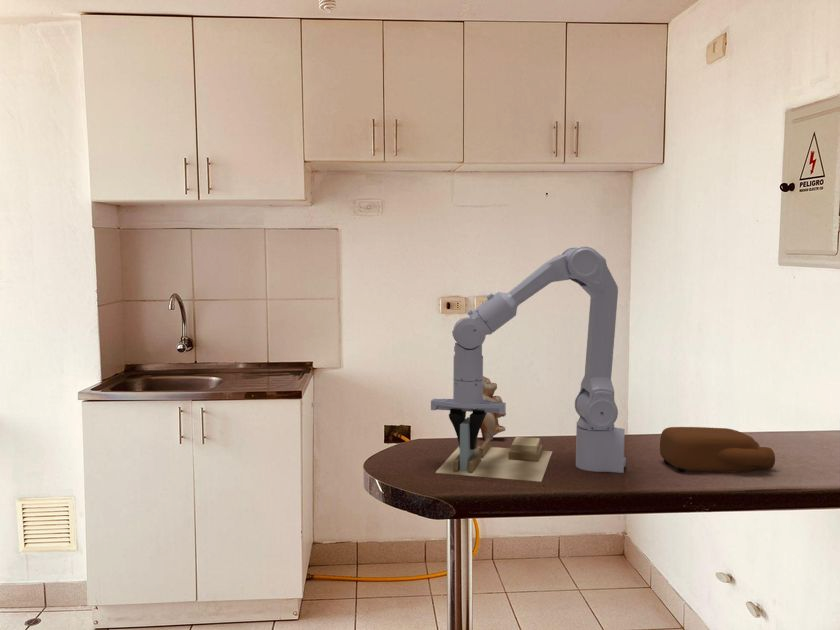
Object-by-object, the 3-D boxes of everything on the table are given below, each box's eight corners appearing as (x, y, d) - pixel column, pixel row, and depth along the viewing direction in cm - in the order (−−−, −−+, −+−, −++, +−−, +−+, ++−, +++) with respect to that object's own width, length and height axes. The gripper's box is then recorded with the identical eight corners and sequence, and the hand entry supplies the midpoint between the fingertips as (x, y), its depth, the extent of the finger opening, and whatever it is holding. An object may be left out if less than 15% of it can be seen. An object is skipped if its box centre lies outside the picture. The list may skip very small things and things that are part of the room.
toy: (741, 460, 152) (650, 458, 151) (744, 425, 152) (653, 422, 150) (781, 481, 138) (681, 478, 136) (785, 442, 137) (684, 438, 136)
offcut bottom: (542, 451, 151) (542, 444, 151) (538, 461, 143) (538, 454, 143) (514, 449, 153) (514, 442, 153) (508, 459, 145) (508, 452, 145)
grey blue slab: (474, 461, 143) (474, 417, 143) (467, 471, 136) (467, 425, 136) (467, 461, 144) (467, 417, 143) (459, 470, 137) (460, 424, 136)
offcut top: (539, 445, 151) (539, 438, 150) (536, 453, 144) (536, 446, 144) (516, 443, 152) (516, 436, 152) (511, 451, 145) (511, 444, 145)
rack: (552, 456, 152) (552, 442, 151) (541, 486, 130) (541, 470, 130) (460, 449, 157) (460, 435, 157) (435, 477, 136) (435, 462, 136)
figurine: (504, 446, 159) (505, 379, 158) (470, 444, 161) (471, 378, 160) (506, 439, 166) (507, 375, 164) (474, 438, 167) (474, 374, 166)
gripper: (508, 377, 141) (507, 445, 142) (437, 374, 145) (436, 440, 146) (502, 383, 134) (501, 454, 135) (428, 379, 138) (427, 449, 139)
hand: (467, 448), depth 140 cm, fingers closed on grey blue slab, 1 cm apart
